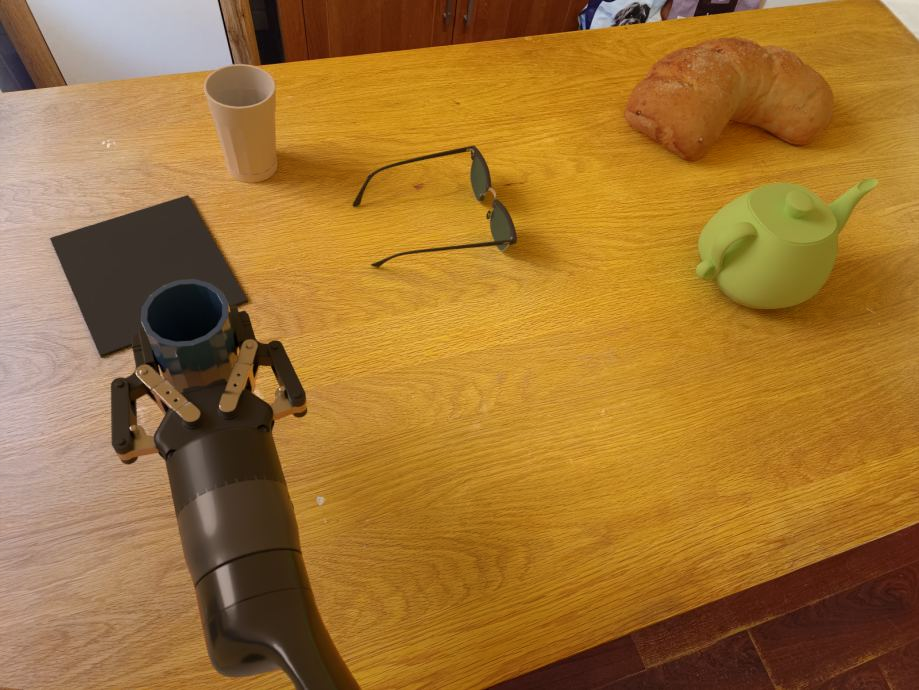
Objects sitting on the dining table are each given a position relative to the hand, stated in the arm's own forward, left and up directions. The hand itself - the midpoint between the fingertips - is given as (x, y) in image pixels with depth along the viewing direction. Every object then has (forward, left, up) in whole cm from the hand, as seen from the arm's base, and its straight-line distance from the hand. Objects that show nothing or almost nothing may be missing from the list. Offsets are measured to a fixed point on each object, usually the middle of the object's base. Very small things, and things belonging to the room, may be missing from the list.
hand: (190, 322), depth 59 cm
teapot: (+66, -11, -18) cm, 69 cm away
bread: (+83, +15, -18) cm, 87 cm away
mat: (0, +22, -18) cm, 29 cm away
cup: (+17, +33, -18) cm, 42 cm away
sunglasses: (+32, +14, -18) cm, 40 cm away
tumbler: (0, -2, -6) cm, 7 cm away
